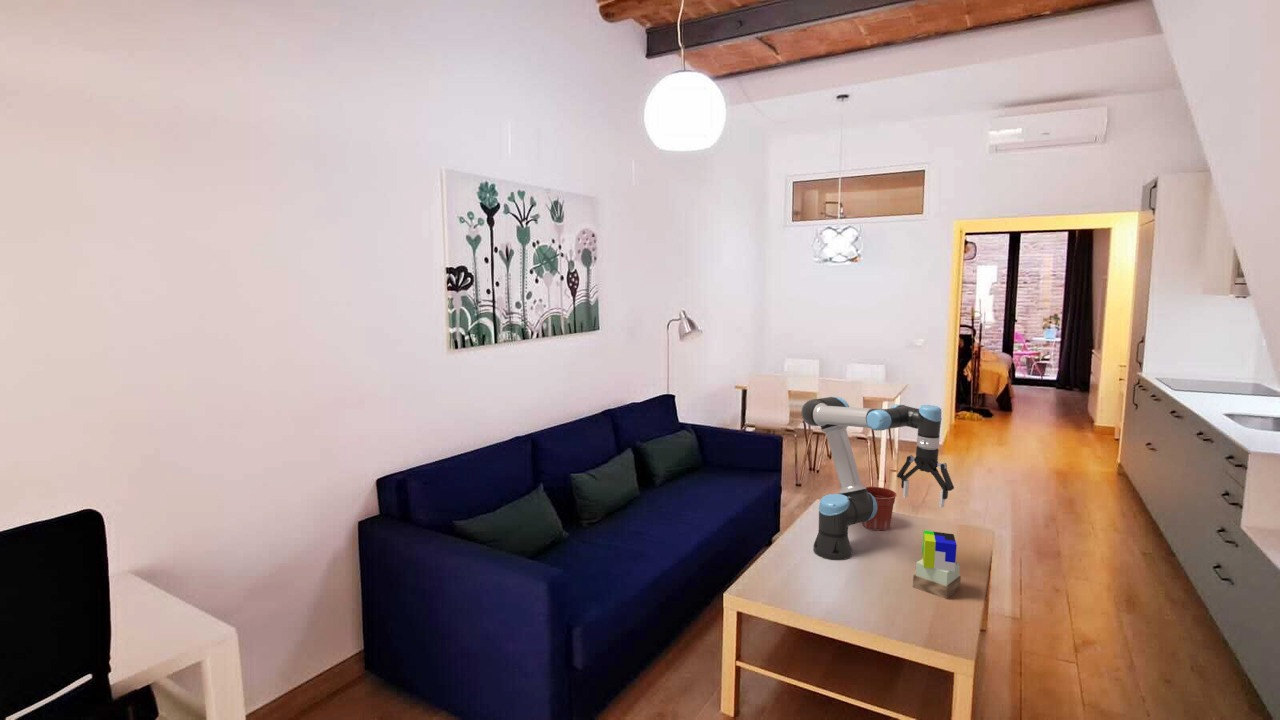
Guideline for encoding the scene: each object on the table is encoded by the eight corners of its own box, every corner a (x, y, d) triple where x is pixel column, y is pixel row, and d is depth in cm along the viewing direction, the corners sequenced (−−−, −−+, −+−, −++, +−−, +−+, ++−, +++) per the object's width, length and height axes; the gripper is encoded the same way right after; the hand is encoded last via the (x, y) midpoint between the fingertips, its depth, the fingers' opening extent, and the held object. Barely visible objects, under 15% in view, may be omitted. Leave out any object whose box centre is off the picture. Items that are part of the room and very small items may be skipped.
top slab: (915, 575, 230) (916, 562, 230) (928, 566, 238) (929, 553, 237) (946, 586, 222) (947, 572, 222) (959, 576, 230) (959, 563, 229)
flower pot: (860, 531, 283) (861, 497, 281) (854, 518, 299) (855, 485, 298) (898, 534, 281) (900, 499, 279) (890, 520, 297) (892, 487, 295)
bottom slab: (912, 588, 231) (913, 575, 231) (926, 578, 239) (927, 565, 239) (946, 600, 222) (947, 586, 222) (959, 589, 230) (960, 576, 230)
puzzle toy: (954, 571, 222) (956, 544, 221) (923, 567, 226) (925, 540, 225) (951, 560, 232) (953, 534, 230) (922, 556, 235) (923, 530, 234)
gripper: (890, 441, 241) (886, 495, 244) (958, 456, 223) (953, 513, 226) (899, 438, 246) (895, 490, 249) (966, 452, 228) (961, 508, 231)
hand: (923, 501), depth 237 cm, fingers open, 13 cm apart
